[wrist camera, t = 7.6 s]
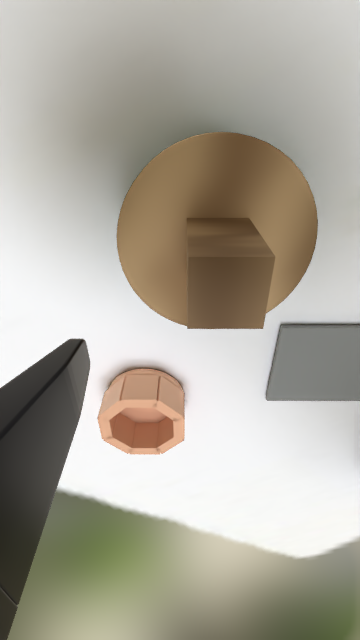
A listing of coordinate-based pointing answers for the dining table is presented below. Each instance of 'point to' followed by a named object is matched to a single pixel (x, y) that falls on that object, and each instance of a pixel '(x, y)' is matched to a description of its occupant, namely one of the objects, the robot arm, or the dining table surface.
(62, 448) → the robot arm
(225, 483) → the dining table surface
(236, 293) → the lid
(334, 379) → the mat
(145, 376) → the small bowl
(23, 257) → the dining table surface
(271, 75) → the dining table surface
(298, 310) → the dining table surface
